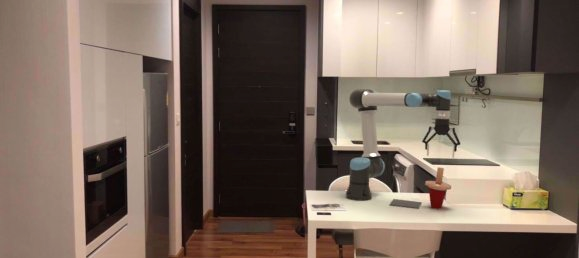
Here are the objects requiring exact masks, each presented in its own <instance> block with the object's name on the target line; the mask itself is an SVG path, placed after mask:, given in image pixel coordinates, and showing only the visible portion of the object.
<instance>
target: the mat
mask: <svg viewBox="0 0 579 258" xmlns="http://www.w3.org/2000/svg"><path fill="white" fill-rule="evenodd" d="M388 205H389V206H392V207H400V208H408V209H416V210H419V209H420V207H421V205H422V201H415V200H405V199H399V198H398V199H397V198H393V199H392V200H391V202H390V203H389V204H388Z"/></svg>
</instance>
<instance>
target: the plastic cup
mask: <svg viewBox="0 0 579 258" xmlns="http://www.w3.org/2000/svg"><path fill="white" fill-rule="evenodd" d="M427 187H428V193H429V202H430V204H429V205H430V208H432V209H438V210H440V209H442V207H443V204H444V201H445V197H446V193H447V191H448V190H443V189H436V188H432V187H429V186H427Z"/></svg>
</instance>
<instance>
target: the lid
mask: <svg viewBox="0 0 579 258" xmlns="http://www.w3.org/2000/svg"><path fill="white" fill-rule="evenodd" d="M436 169H437V170H436V176H435V180H425V183H424V185H425V186H427V187H428V186H429V187H432V188H436V189H443V190H447V191H449V190H451V189H452V184H449V183H446V182H443V177H444V170H445V168H444V167H439V166H438V167H437V168H436ZM429 187H428V188H429Z"/></svg>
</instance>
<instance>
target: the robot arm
mask: <svg viewBox="0 0 579 258" xmlns="http://www.w3.org/2000/svg"><path fill="white" fill-rule="evenodd" d="M348 101H349V104H350V105H351V106H352V107H353V108H354V109H357V113H359V115H360V122H361V132H362V135H361V136H362V147H363V153H362V155H361V156H360V157H354V158H352V159H351V160H350V163H349V184H348V187H347V189H346V192H345V197H346V199H349V200H353V201H369V200H371V199H372V191H371V187H370V179H372V178H377V177H380V176H382V174H383V173H384V172H385V168H386V165H385V162H384V161H383V159H382V156H381V154H380V153H379V151H378V138H377V135H378V134H377V125H376V124H377V123H376V113H377V111H378V107H407V108H424V107H425V108H435V119H434V126H429V127H428V131H427V132H426V134H425V136H424V137H423V138H422V143H423V144H424V147H425V148H424V150H426V156H427V157H429V154H430V152H429V151H430V143H429V142H430V141H432V140H433V139H434V137H436V135H437V136H446V137H448V139H449V140H450V142H451V143H452V144H453V146H452V159H453V158H455V152H457V151H458V150H457V147H458V146H460V145H461V142H460V139H459V137H458V135H457V131H456V128H455V127H450V118H451V101H452V93H451V91H450V90H448V89H447V90H445V89H443V90H442V89H441V90H439V89H437V90H436V93H428V92H420V93H418V92H377V91H375V90H373V89H370V88H369V89H366V88H365V89H361V88H360V89H358V88H357V89H354V90H353V91H352V92H351V93H350V95H349V98H348ZM433 130H434V133H433V134H432V135H431V136H430V137H429V135H430V133H431V132H432V131H433ZM450 131H451V132H452V133H453V137H454V138H455V139H454V138H452V136H451V135H450V133H449V132H450ZM428 137H429V138H428ZM427 138H428V139H427Z"/></svg>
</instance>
